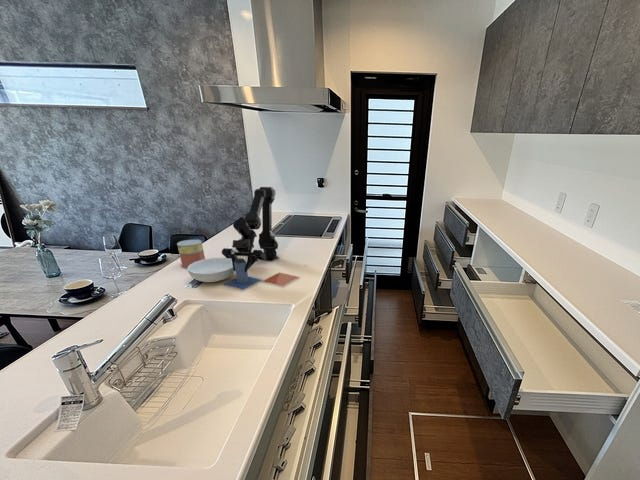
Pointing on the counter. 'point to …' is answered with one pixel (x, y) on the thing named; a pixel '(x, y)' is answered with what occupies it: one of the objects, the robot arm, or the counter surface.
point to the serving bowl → (211, 269)
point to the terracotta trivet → (280, 279)
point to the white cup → (239, 256)
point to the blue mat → (242, 286)
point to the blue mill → (241, 271)
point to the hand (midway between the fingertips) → (239, 271)
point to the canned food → (190, 251)
